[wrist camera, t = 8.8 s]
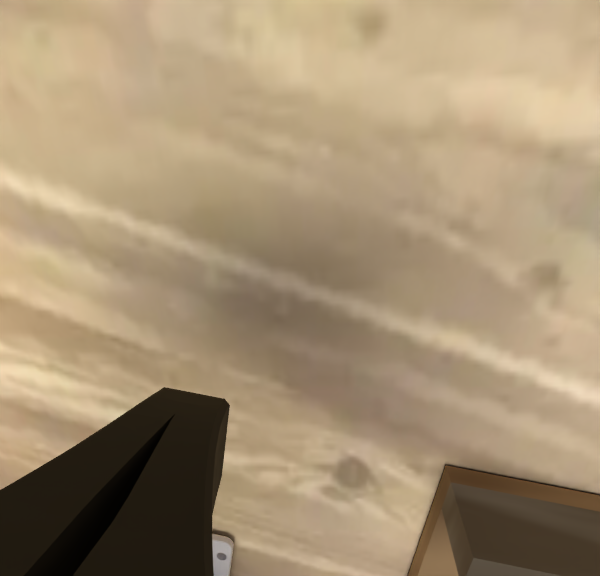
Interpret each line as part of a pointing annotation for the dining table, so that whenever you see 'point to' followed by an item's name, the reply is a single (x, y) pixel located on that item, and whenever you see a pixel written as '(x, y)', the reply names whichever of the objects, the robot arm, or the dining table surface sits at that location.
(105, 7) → the dining table surface
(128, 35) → the dining table surface
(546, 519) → the sliding board
